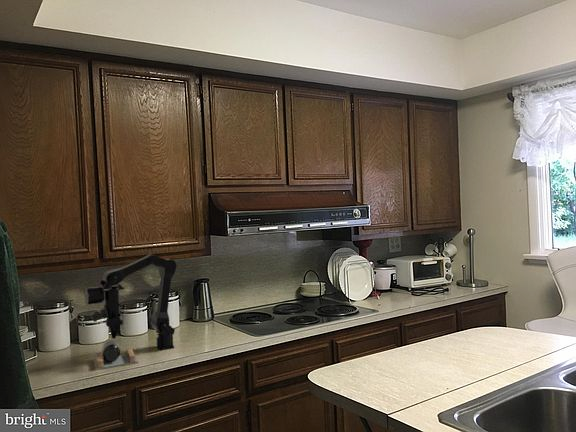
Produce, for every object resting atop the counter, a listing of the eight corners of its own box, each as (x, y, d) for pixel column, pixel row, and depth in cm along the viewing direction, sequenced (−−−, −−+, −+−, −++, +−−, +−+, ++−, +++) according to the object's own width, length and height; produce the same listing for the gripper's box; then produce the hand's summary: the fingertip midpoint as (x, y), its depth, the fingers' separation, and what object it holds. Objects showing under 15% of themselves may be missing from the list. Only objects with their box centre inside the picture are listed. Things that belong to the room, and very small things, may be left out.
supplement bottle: (106, 358, 198) (106, 367, 187) (99, 344, 197) (99, 352, 186) (121, 350, 201) (123, 358, 190) (115, 336, 200) (116, 344, 189)
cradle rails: (131, 353, 201) (131, 347, 201) (135, 362, 189) (135, 355, 189) (96, 358, 195) (95, 353, 195) (98, 368, 183) (97, 361, 183)
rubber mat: (133, 354, 202) (133, 353, 202) (138, 363, 190) (138, 361, 190) (93, 360, 195) (93, 359, 195) (95, 370, 183) (95, 368, 183)
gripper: (90, 299, 202) (91, 336, 202) (92, 307, 185) (94, 347, 185) (117, 296, 206) (119, 332, 207) (122, 304, 189) (123, 342, 190)
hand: (113, 338), depth 197 cm, fingers closed
